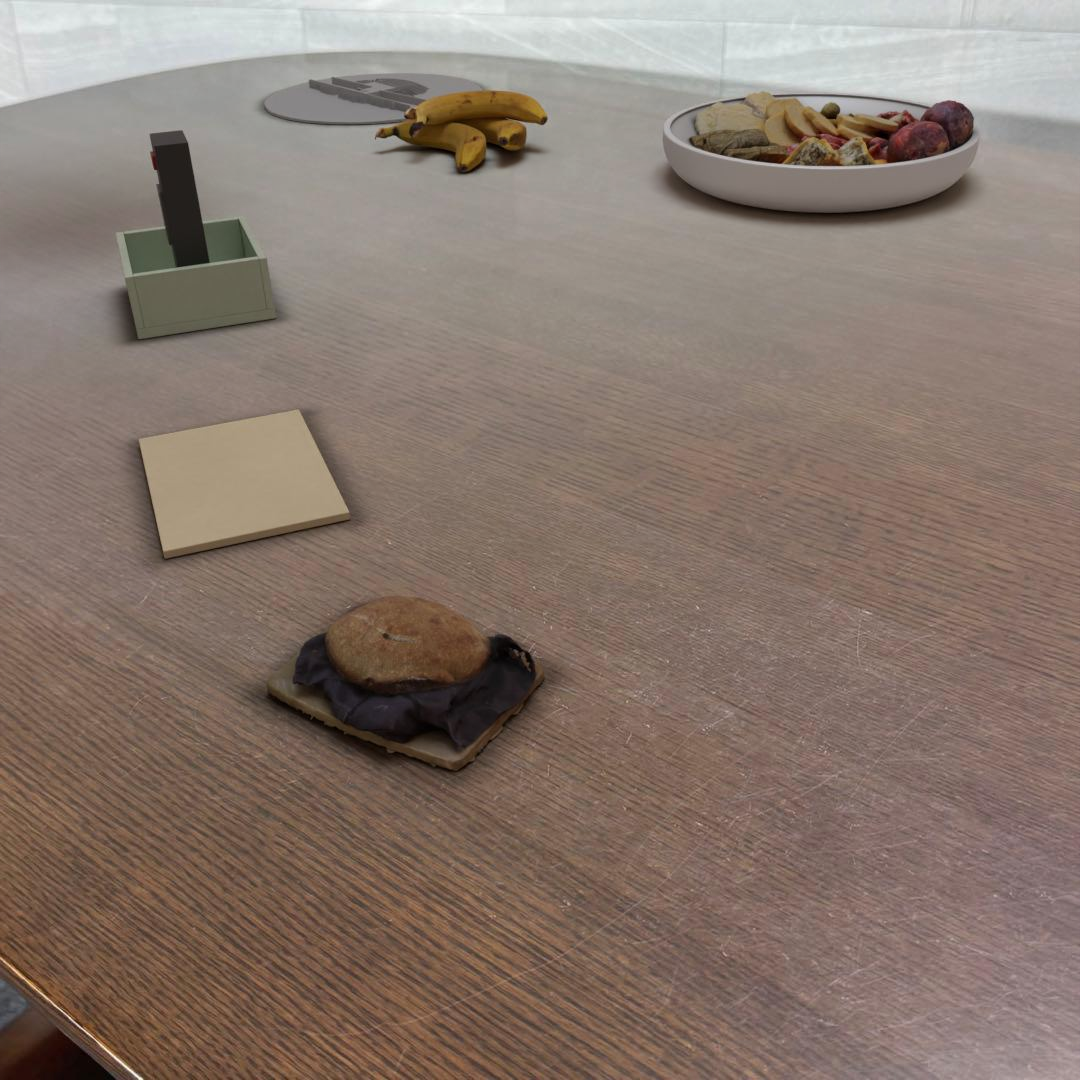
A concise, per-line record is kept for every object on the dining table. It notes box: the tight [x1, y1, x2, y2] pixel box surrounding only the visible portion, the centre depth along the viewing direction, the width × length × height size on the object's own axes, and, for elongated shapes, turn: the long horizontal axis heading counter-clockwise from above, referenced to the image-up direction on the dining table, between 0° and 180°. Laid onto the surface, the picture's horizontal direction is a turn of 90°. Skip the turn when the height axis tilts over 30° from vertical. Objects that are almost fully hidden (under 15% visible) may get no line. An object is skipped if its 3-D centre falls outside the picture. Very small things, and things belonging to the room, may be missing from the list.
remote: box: [149, 129, 210, 268], centre depth 91 cm, size 3×4×12 cm
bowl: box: [662, 90, 981, 214], centre depth 117 cm, size 30×30×8 cm
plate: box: [264, 72, 484, 125], centre depth 155 cm, size 28×28×1 cm
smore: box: [265, 595, 546, 772], centre depth 53 cm, size 11×8×4 cm
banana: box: [374, 89, 548, 173], centre depth 129 cm, size 15×19×6 cm
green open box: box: [115, 215, 277, 340], centre depth 93 cm, size 10×11×5 cm
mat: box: [138, 409, 351, 560], centre depth 70 cm, size 14×10×1 cm
